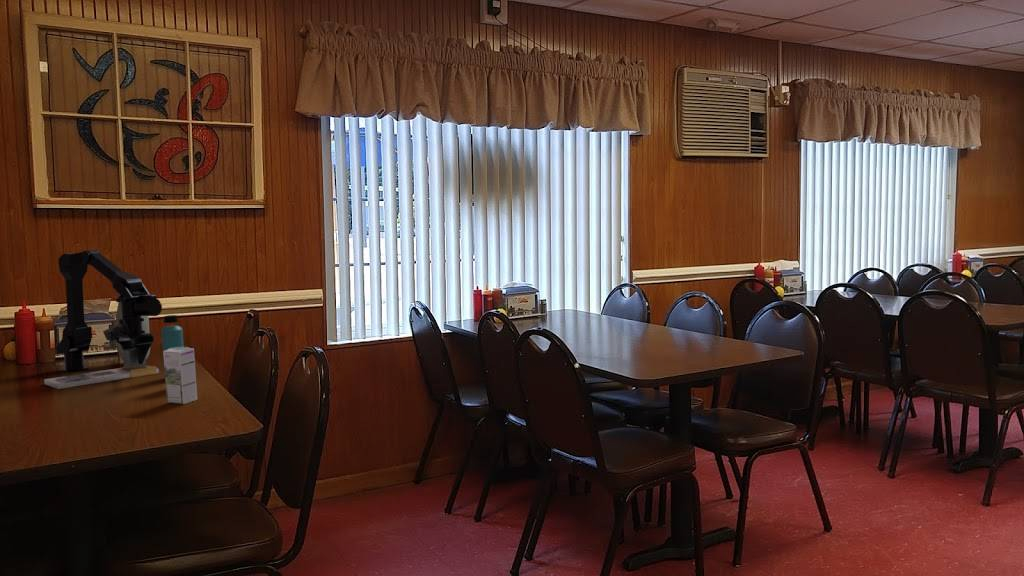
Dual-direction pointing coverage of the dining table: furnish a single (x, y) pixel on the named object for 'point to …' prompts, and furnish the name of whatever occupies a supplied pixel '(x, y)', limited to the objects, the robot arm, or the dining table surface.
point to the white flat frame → (98, 377)
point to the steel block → (132, 360)
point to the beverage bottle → (171, 334)
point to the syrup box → (180, 375)
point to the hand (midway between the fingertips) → (134, 362)
